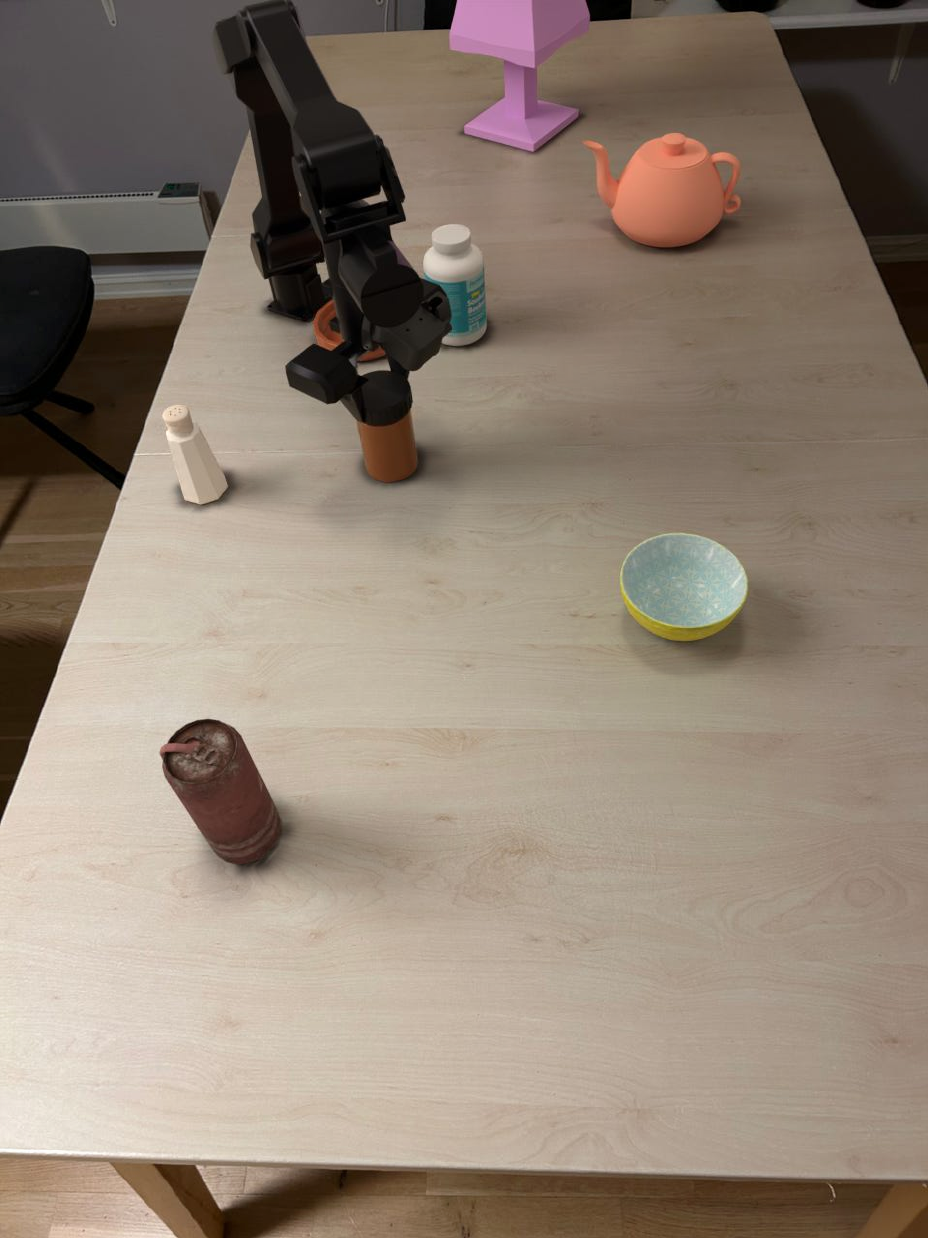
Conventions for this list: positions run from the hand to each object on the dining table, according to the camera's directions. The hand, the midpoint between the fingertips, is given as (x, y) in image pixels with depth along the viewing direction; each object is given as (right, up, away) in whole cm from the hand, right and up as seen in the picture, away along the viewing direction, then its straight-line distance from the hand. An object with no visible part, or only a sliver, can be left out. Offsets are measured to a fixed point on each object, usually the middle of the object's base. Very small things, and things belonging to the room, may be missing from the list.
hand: (381, 403), depth 100 cm
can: (-10, -41, -20) cm, 47 cm away
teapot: (+37, +33, +34) cm, 60 cm away
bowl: (+29, -23, -9) cm, 39 cm away
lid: (0, +1, -1) cm, 2 cm away
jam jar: (+1, -5, +7) cm, 9 cm away
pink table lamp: (+18, +59, +56) cm, 84 cm away
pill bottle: (+8, +14, +22) cm, 27 cm away
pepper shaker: (-21, -8, +7) cm, 23 cm away
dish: (-4, +14, +22) cm, 27 cm away
